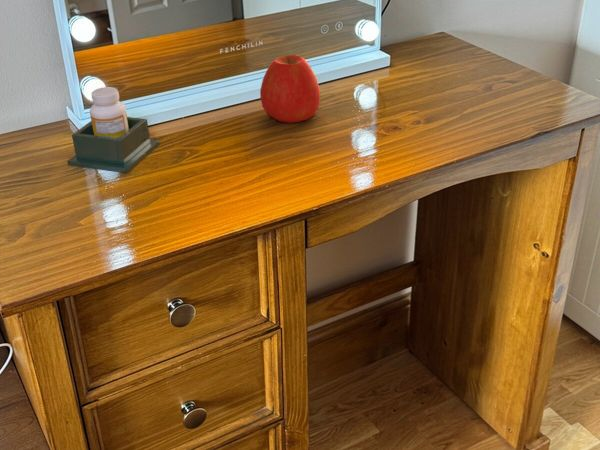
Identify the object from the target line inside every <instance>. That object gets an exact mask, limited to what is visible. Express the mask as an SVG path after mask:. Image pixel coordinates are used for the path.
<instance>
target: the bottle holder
mask: <svg viewBox="0 0 600 450" xmlns="http://www.w3.org/2000/svg"><path fill="white" fill-rule="evenodd" d="M127 120H128V126H129V130H128V131H127V132H126V133H124V134H123V135H122V136H121V137H119V138H111V137H103V136H95V135H94V132H93V126H92V121H91V120H90V121H89V122H87V123H86V124H85V125H83V126H82V127H80V128H79V129H78V130H76V131H75V132H73V133H72V134H71V139H72V143H73V148H74V153H75V154H74V155H73V156H71V157H70V158H69V159H67V160H66V162H67V165H68V166H71V167H79V168H85V169H86V168H88V169H94V170H101V171H109V172H116V173H122V174H123V173H125V174H129V173H130V172H131V171H132V170H133V169H134V168H135V167H137V165H138V164H140V163H141V162H142V161H143V160H144V159H146V157H148V156H149V155H150V154H151V153H152V152H153V151H155V150H156V148H158V147H159V146H160V140H159V139H151V137H150V130H149V123H148V119H147V118H140V117H131V116H127Z"/></svg>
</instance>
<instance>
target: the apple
mask: <svg viewBox="0 0 600 450" xmlns="http://www.w3.org/2000/svg"><path fill="white" fill-rule="evenodd" d="M319 85H320V84H319V81H318V78H317V76H316V74H315V72H314V71H313V69H312V66H310V64H309V62H308V61H307V59H306V58H303V57H301V56H299V55H296V54H290V55H285V56H280V57H277V58H276V59H274V60H273V61H272V62H271V63H270V65H269V66H268V67H267V69H266V71H265V73H264V76H263V78H262V81H261V86H260V90H259V94H260V95H259V96H260V97H259V98H260V102H261V106H262V108H263V110H264V112H265V113H266V114H267V115H268V116H270V117H271V118H273V119H274V120H276V121H278V122H281V123H287V124H291V123H298V122H299V123H300V122H303V121H306V120H308V119H310V118H312V117H313V116H314V115H315V114H316V112H317V110H318V109H319V107H320V104H321V90H320V86H319Z"/></svg>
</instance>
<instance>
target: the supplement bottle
mask: <svg viewBox="0 0 600 450" xmlns="http://www.w3.org/2000/svg"><path fill="white" fill-rule="evenodd" d="M91 100H92V105H91V106H90V109H89V115H90V121H92V126H93V132H94V135H95V136H103V137H111V138H119V137H121V136H122V135H123V134H124V133H126V132H127V131H128V130H129V126H128V120H127V117H128V114H127V109H126V105H125V104H124V103H123V102H122V101H120V93H119V90H118V88H116V87H113V86H103V87H98V88H96V89H94V90H93V91H92V92H91Z"/></svg>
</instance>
